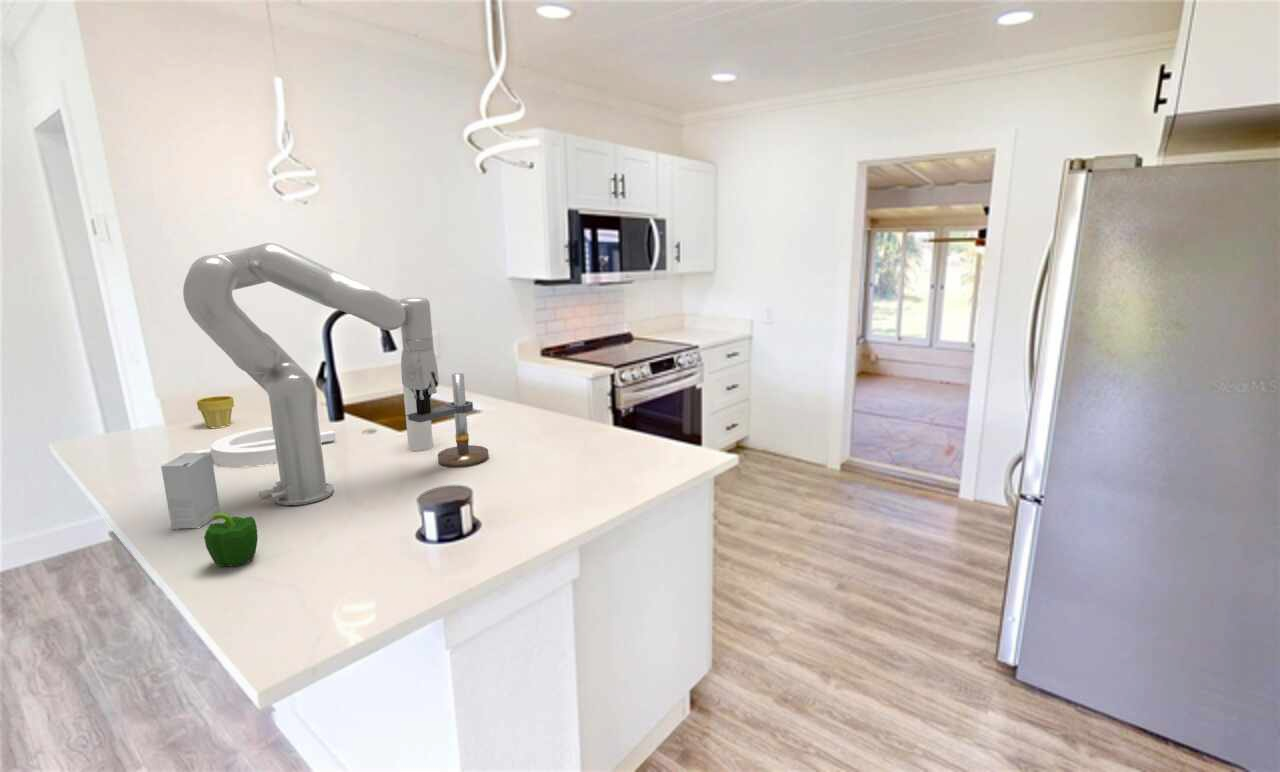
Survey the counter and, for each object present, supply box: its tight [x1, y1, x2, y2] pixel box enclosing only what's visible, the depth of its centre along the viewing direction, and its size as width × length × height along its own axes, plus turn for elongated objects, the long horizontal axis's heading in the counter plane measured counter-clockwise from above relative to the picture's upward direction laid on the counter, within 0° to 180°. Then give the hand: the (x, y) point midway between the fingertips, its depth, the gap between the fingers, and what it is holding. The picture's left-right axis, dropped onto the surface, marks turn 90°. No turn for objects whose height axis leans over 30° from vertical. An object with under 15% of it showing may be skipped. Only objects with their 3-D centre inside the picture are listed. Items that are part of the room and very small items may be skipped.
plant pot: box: [196, 395, 235, 428], centre depth 209 cm, size 10×10×10 cm
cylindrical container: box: [402, 385, 434, 452], centre depth 182 cm, size 7×7×25 cm
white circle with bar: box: [194, 426, 336, 468], centre depth 181 cm, size 28×28×5 cm
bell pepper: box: [203, 513, 258, 567], centre depth 114 cm, size 8×8×10 cm
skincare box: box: [160, 452, 221, 530], centre depth 131 cm, size 8×6×15 cm
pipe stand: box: [437, 372, 490, 468], centre depth 171 cm, size 14×14×25 cm
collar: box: [408, 400, 474, 423], centre depth 165 cm, size 18×7×2 cm, turn 145°
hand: (424, 413), depth 160 cm, fingers closed
